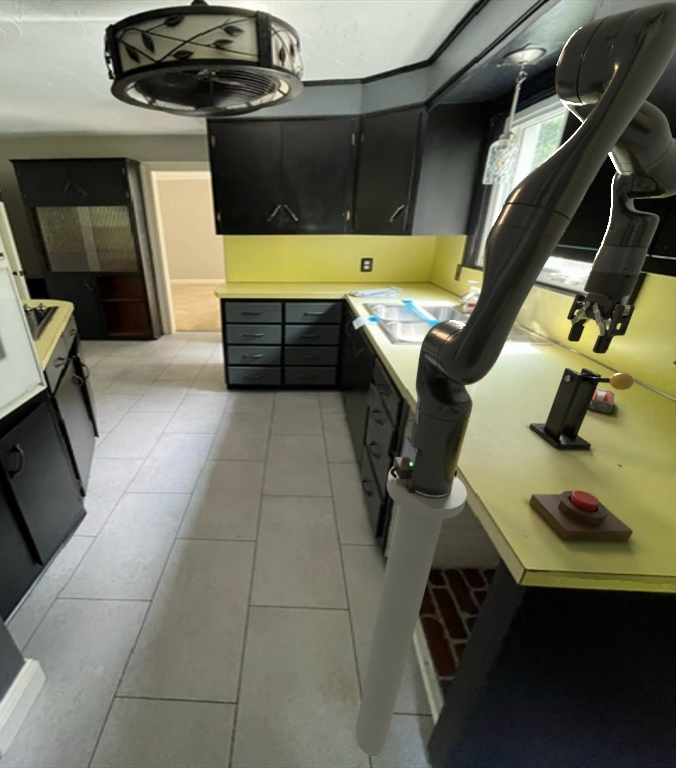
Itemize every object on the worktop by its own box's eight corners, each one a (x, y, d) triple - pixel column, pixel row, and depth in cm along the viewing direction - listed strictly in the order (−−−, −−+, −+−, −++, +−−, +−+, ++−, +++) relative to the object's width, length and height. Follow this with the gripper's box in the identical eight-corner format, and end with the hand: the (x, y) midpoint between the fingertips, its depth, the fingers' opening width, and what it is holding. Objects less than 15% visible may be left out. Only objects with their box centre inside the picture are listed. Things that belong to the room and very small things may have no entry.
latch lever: (638, 390, 73) (639, 372, 72) (620, 390, 73) (621, 372, 72) (582, 386, 86) (583, 370, 85) (567, 385, 86) (568, 370, 85)
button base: (563, 540, 61) (571, 522, 59) (528, 502, 69) (535, 486, 67) (628, 540, 61) (638, 522, 59) (586, 503, 69) (593, 486, 68)
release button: (580, 512, 62) (583, 504, 61) (564, 497, 65) (567, 490, 64) (601, 512, 62) (604, 504, 61) (584, 498, 65) (588, 490, 64)
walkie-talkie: (576, 391, 116) (568, 413, 102) (580, 379, 114) (573, 399, 100) (612, 400, 110) (609, 424, 97) (617, 387, 109) (615, 409, 95)
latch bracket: (589, 448, 86) (619, 380, 79) (556, 448, 86) (582, 379, 79) (559, 427, 95) (583, 364, 88) (529, 427, 95) (550, 363, 88)
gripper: (572, 265, 80) (548, 336, 86) (621, 273, 67) (588, 356, 73) (609, 267, 79) (582, 338, 86) (665, 275, 66) (628, 358, 73)
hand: (585, 346), depth 80 cm, fingers open, 8 cm apart
